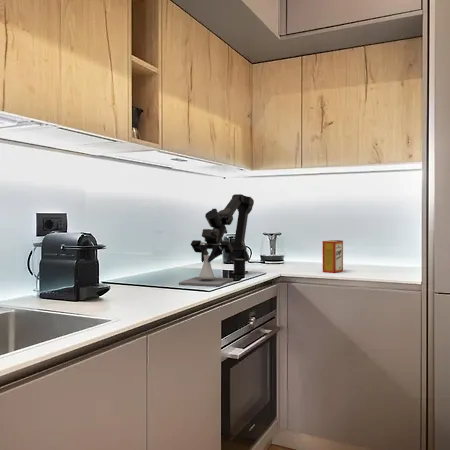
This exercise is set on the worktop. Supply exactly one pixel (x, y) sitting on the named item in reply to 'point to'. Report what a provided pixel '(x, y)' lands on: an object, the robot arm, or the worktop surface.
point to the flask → (206, 269)
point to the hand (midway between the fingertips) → (205, 261)
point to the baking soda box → (333, 256)
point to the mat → (206, 281)
